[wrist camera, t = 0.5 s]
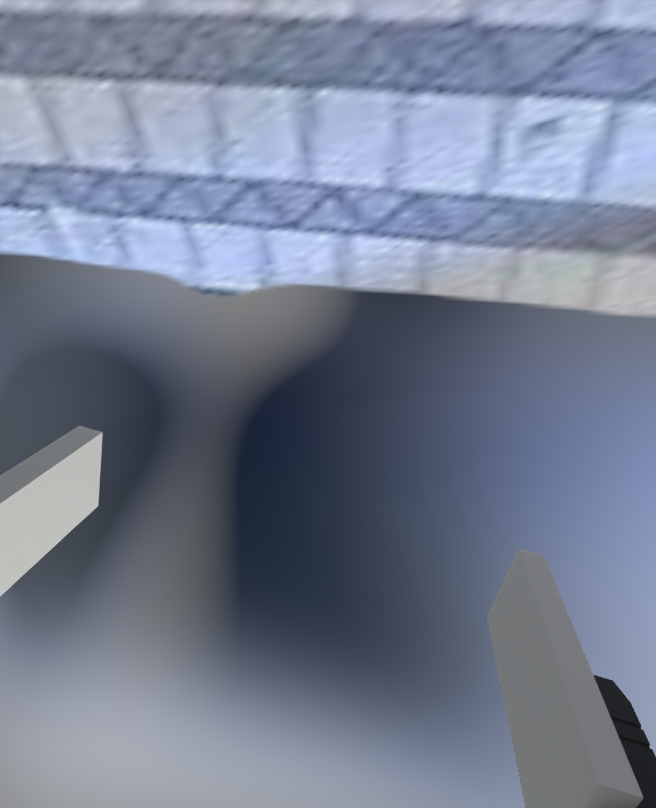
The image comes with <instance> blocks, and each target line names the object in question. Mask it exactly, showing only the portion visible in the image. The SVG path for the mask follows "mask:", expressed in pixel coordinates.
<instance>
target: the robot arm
mask: <svg viewBox="0 0 656 808" xmlns="http://www.w3.org/2000/svg"><path fill="white" fill-rule="evenodd" d="M101 448H102V432H100V431H96V430H92V429H89V428H85V427H81V426H79V427H77V428H75V429H74V430H72V431H71V432H69V433H67V434H66V435H64V436H63V437H61V438H59V439H58V440H56V441H55V442H53V443H51V444H50V445H49V446H47V447H45V448H44V449H42V450H40V451H39V452H37V453H36V454H34V455H32V456H31V457H29V458H28V459H26V460H25V461H23V462H21V463H20V464H18V465H16V466H15V467H13V468H12V469H10V470H9V471H7V472H5V473H4V474H2V475H1V476H0V596H1V595H2V594H3V593H4V592H5V591H6V590H7V589H9V588H10V587H11V586H12V585H13V584H14V583H15V582H16V581H17V580H18V579H19V578H20V577H21V576H23V575H24V574H25V573H26V572H27V571H28V570H29V569H30V568H31V567H32V566H33V565H35V564H36V563H37V562H38V561H39V560H40V559H41V558H42V557H43V556H44V555H45V554H46V553H47V552H49V551H50V550H51V549H52V548H53V547H54V546H55V545H56V544H57V543H58V542H59V541H60V540H61V539H63V538H64V537H65V536H66V535H67V534H68V533H69V532H70V531H71V530H72V529H73V528H74V527H76V525H78V524H79V523H80V522H81V521H82V520H83V519H84V518H85V517H86V516H87V515H88V514H90V513H91V512H92V511H93V510H94V509H95V508H96V507H97V506H98V497H99V482H100V464H101ZM487 619H488V624H489V629H490V634H491V639H492V643H493V649H494V654H495V659H496V664H497V668H498V674H499V679H500V684H501V688H502V693H503V698H504V703H505V708H506V713H507V718H508V723H509V728H510V733H511V738H512V743H513V748H514V752H515V758H516V763H517V768H518V772H519V777H520V782H521V787H522V792H523V797H524V802H525V807H526V808H656V757H655V754H654V752H653V750H652V749H650V747H649V745H650V744H649V742H648V739H647V737H646V735H645V733H644V731H643V730H641V724H640V722H639V720H638V718H637V716H636V714H635V712H634V709H633V707H632V705H631V703H630V701H629V700H628V699H627V698H626V696H625V695H624V694H623V693H622V691H621V690H620V689H619V688H618V687H617V685H616V684H615V683H614V682H613V681H612V680H609V679H606V678H602V677H599V676H595V675H593V673H592V671H591V668H590V666H589V663H588V661H587V658H586V656H585V654H584V651H583V649H582V646H581V644H580V641H579V639H578V637H577V634H576V632H575V629H574V627H573V624H572V622H571V620H570V617H569V615H568V613H567V610H566V607H565V605H564V603H563V600H562V598H561V595H560V593H559V590H558V588H557V585H556V583H555V580H554V578H553V576H552V573H551V571H550V568H549V566H548V563H547V561H546V559H545V556H544V555H541V554H537V553H533V552H530V551H526V550H523V549H518V551H517V554H516V555H515V558H514V560H513V562H512V564H511V566H510V569H509V571H508V573H507V575H506V578H505V580H504V582H503V584H502V586H501V588H500V591H499V593H498V595H497V597H496V599H495V602H494V604H493V606H492V609H491V611H490V613H489V615H488V617H487Z"/></svg>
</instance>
